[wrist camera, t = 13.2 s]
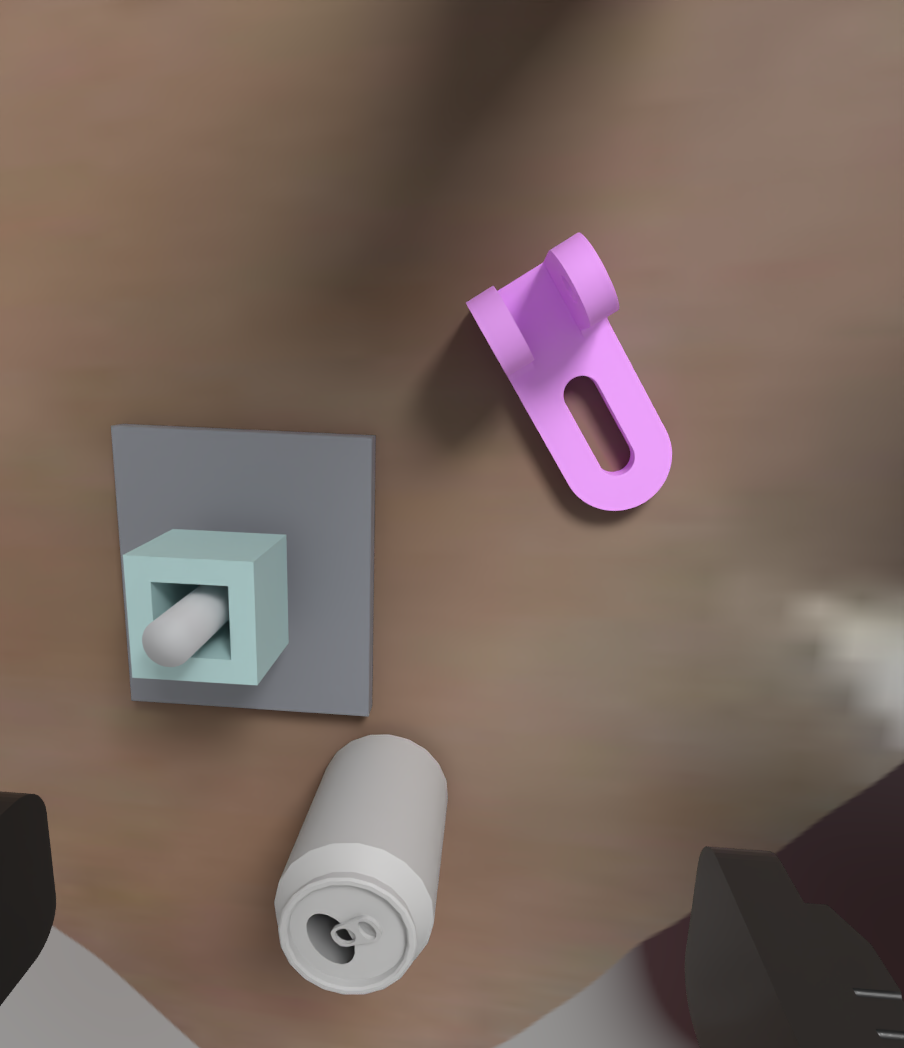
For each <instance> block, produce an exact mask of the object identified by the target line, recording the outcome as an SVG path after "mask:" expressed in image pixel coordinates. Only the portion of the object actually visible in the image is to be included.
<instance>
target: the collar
mask: <svg viewBox="0 0 904 1048" xmlns="http://www.w3.org/2000/svg"><path fill="white" fill-rule="evenodd" d="M123 564H124V577H125V590H126V603H127V616H128V629H129V642H130V655H131V668H132V678H146V679H162V680H178V681H194V682H211V683H227V684H243V685H258V684H259V683H260V681H261V680H262V679H263V677H264V676H265V674H266V673H267V672H268V670H269V669H270V668H271V666H272V665H273V664H274V662H275V661H276V660H277V658H278V657H279V655H280V654H281V653H282V651H283V650H284V649H285V647H286V646H287V645H288V643H289V636H288V587H287V539H286V535H284V534H264V533H244V532H224V531H204V530H184V529H172V530H170V531H168V532H166V533H164V534H162V535H160V536H158V537H157V538H155V539H153V540H151V541H149V542H147V543H145V544H143V545H141V546H139V547H137V548H135V549H134V550H132V551H130V552H128V553H126V554H124V555H123ZM198 584H199V585H217V586H228V594H229V618H230V619H229V620H228V621H227V622H226V623H225V624H224V625H223V626H222V627H221V628H220V629H219V630H218V631H217V632H216V633H215V634H214V635H213V636H212V637H211V638H210V639H209V640H208V641H207V642H206V643H205V644H204V645H203V646H201V647H200V648H199V649H198V650H197V651H196V652H195V653H194V654H193V655H192V656H191V657H190V658H189V659H188V660H187V661H186V662H185V663H183V664H182V665H179V666H176V667H165V666H161V665H159V664H157V663H155V662H154V661H152V660H151V659H150V658H149V657H148V655H147V654H146V652H145V651H144V648H143V644H142V636H143V632H144V630H145V628H146V627H147V626H148V625H149V624H150V623H151V622H153V621H154V620H155V619H156V618H158V617H159V616H160V615H162V614H163V613H164V612H166V611H167V610H168V609H170V608H171V607H172V606H174V605H175V604H176V603H178V602H179V601H180V600H181V599H183V598H184V597H185V596H187V595H188V594H189V593H191V592H192V591H193V590H195V589H196V588H197V587H198Z"/></svg>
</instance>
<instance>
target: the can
mask: <svg viewBox="0 0 904 1048" xmlns="http://www.w3.org/2000/svg"><path fill="white" fill-rule="evenodd" d="M447 801H448V794H447V782H446V778H445V776H444V774H443V772H442V770H441V767H440V765H439V763H438V762H437V761H436V760H435V759H434V758H433V757H432V756H431V755H430V753H429V752H428V751H427V750H426V749H424V748H422V747H421V746H419V745H417V744H416V743H414V742H412V741H411V740H409V739H405V738H402V737H398V736H394V735H390V734H385V735H368V736H365V737H362V738H359V739H356V740H353V741H351V742H350V743H348V744H347V745H346V746H344V747H343V748H342V749H340V750H339V751H338V752H337V753H336V754H335V756H334V757H333V759H332V760H331V762H330V763H329V765H328V766H327V768H326V771H325V773H324V775H323V778H322V780H321V783H320V785H319V787H318V790H317V792H316V795H315V797H314V799H313V802H312V804H311V806H310V809H309V811H308V814H307V816H306V818H305V821H304V823H303V826H302V828H301V830H300V833H299V835H298V838H297V840H296V842H295V845H294V847H293V850H292V852H291V854H290V857H289V859H288V861H287V864H286V866H285V869H284V871H283V873H282V876H281V878H280V881H279V884H278V888H277V893H276V897H275V902H274V904H275V911H276V917H277V924H278V926H279V927H278V932H279V938H280V945H281V948H282V950H283V952H284V954H285V956H286V958H287V960H288V961H289V963H290V965H291V966H292V967H293V968H294V969H295V970H296V971H297V972H298V973H299V974H300V975H301V976H302V977H303V978H304V979H306V980H308V981H310V982H312V983H313V984H315V985H317V986H319V987H320V988H322V989H325V990H329V991H333V992H337V993H340V994H367V993H371V992H375V991H378V990H382V989H385V988H386V987H388V986H389V985H391V984H392V983H394V982H396V981H397V980H399V979H400V978H401V977H402V976H403V974H404V973H405V972H406V971H407V969H408V968H409V967H410V965H411V964H412V961H414V960H415V959H416V958H417V956H418V955H419V954H420V952H421V951H422V950H423V948H424V947H425V946H426V944H427V943H428V941H429V937H430V934H431V930H432V927H433V923H434V916H435V907H436V898H437V890H438V881H439V872H440V863H441V854H442V845H443V836H444V828H445V819H446V810H447Z"/></svg>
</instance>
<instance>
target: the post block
mask: <svg viewBox="0 0 904 1048" xmlns="http://www.w3.org/2000/svg"><path fill="white" fill-rule="evenodd" d="M111 433H112V446H113V460H114V473H115V486H116V500H117V513H118V527H119V540H120V553H121V567H122V580H123V593H124V607H125V620H126V634H127V647H128V660H129V674H130V687H131V700H132V701H147V702H162V703H177V704H191V705H206V706H221V707H236V708H251V709H266V710H281V711H296V712H311V713H326V714H341V715H356V716H369V714H370V711H371V708H372V678H373V601H374V523H375V446H376V435H356V434H334V433H312V432H290V431H268V430H246V429H224V428H202V427H180V426H158V425H136V424H119V425H113V426H111ZM172 529H184V530H204V531H224V532H244V533H264V534H284V535H286V539H287V587H288V636H289V643H288V645H287V646H286V647H285V649H284V650H283V651H282V653H281V654H280V655H279V657H278V658H277V660H276V661H275V662H274V664H273V665H272V666H271V668H270V669H269V670H268V672H267V673H266V674H265V676H264V677H263V679H262V680H261V681H260V683H259V684H258V685H243V684H227V683H211V682H194V681H178V680H162V679H146V678H132V668H131V655H130V642H129V629H128V616H127V603H126V590H125V577H124V564H123V555H124V554H126V553H128V552H130V551H132V550H134V549H135V548H137V547H139V546H141V545H143V544H145V543H147V542H149V541H151V540H153V539H155V538H157V537H158V536H160V535H162V534H164V533H166V532H168V531H170V530H172ZM229 619H230V618H229V594H228V586H217V585H199V584H198V587H197V588H196V589H195V590H193V591H192V592H191V593H189V594H188V595H187V596H185V597H184V598H183V599H181V600H180V601H179V602H178V603H176V604H175V605H174V606H172V607H171V608H170V609H168V610H167V611H166V612H164V613H163V614H162V615H160V616H159V617H158V618H156V619H155V620H154V621H153V622H151V623H150V624H149V625H148V626H147V627H146V628H145V630H144V632H143V636H142V644H143V648H144V651H145V652H146V654H147V655H148V657H149V658H150V659H151V660H152V661H154V662H155V663H157V664H159V665H161V666H165V667H176V666H179V665H182V664H183V663H185V662H186V661H187V660H188V659H189V658H190V657H191V656H192V655H193V654H194V653H195V652H196V651H197V650H198V649H199V648H200V647H201V646H203V645H204V644H205V643H206V642H207V641H208V640H209V639H210V638H211V637H212V636H213V635H214V634H215V633H216V632H217V631H218V630H219V629H220V628H221V627H222V626H223V625H224V624H225V623H226V622H227V621H228V620H229Z"/></svg>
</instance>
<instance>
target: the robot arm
mask: <svg viewBox="0 0 904 1048" xmlns="http://www.w3.org/2000/svg"><path fill="white" fill-rule="evenodd" d="M55 910H56V893H55V884H54V875H53V866H52V857H51V848H50V839H49V830H48V821H47V812H46V807H45V804H44V802H43V800H42V799H41V798H40V797H39V796H38V795H35V794H26V793H13V792H0V1006H1V1004H2V1003H3V1002H4V1000H5V999H6V998H7V996H8V995H9V994H10V992H11V991H12V990H13V989H14V987H15V986H16V984H17V983H18V982H19V981H20V980H21V978H22V977H23V976H24V974H25V973H26V972H27V970H28V969H29V968H30V967H31V965H32V964H33V963H34V961H35V960H36V958H37V957H38V955H39V954H40V952H41V950H42V949H43V947H44V945H45V943H46V941H47V938H48V936H49V933H50V930H51V927H52V924H53V920H54V916H55ZM685 982H686V992H687V1000H688V1006H689V1011H690V1015H691V1019H692V1023H693V1026H694V1030H695V1033H696V1036H697V1040H698V1043H699V1047H700V1048H904V1001H903V1000H902V996H901V991H900V989H899V987H898V986H897V984H896V983H895V982H894V980H893V978H892V977H891V975H890V973H889V972H888V970H887V969H886V967H885V966H884V964H883V963H882V961H881V959H880V958H879V956H878V955H877V953H876V952H875V950H874V948H873V947H872V945H871V944H870V943H869V942H868V941H866V940H865V939H864V938H863V937H862V936H861V935H860V934H859V933H858V932H857V931H856V930H854V929H853V928H852V927H851V926H850V925H849V924H848V923H847V922H846V921H844V920H843V919H842V918H841V917H840V916H839V915H838V914H837V913H836V912H835V911H834V910H832V909H831V908H830V907H829V906H828V905H823V904H810V903H804V902H803V900H802V898H801V896H800V895H799V893H798V891H797V890H796V888H795V886H794V884H793V882H792V881H791V879H790V877H789V875H788V873H787V872H786V870H785V868H784V866H783V865H782V863H781V861H780V860H779V858H778V857H777V856H776V855H775V854H774V853H773V852H770V851H759V850H746V849H732V848H719V847H704V848H703V850H702V852H701V854H700V857H699V862H698V868H697V875H696V882H695V889H694V896H693V904H692V911H691V918H690V925H689V932H688V939H687V946H686V955H685Z"/></svg>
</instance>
